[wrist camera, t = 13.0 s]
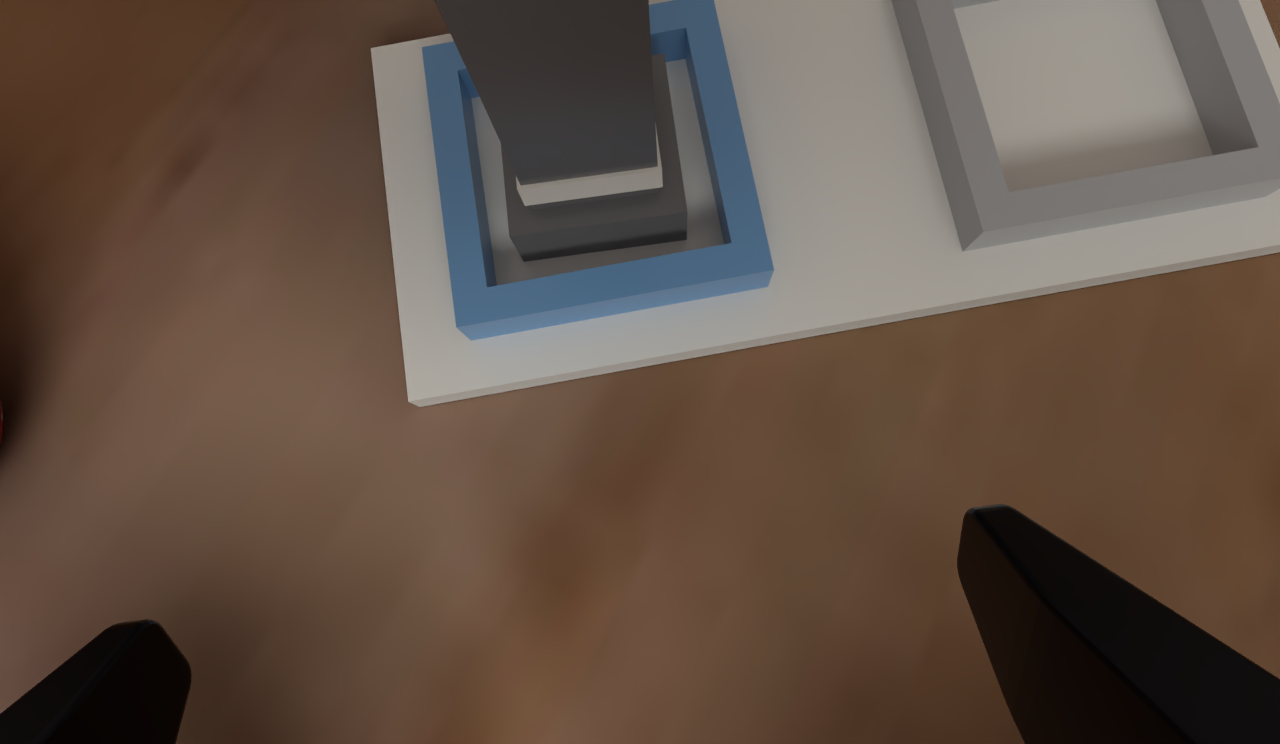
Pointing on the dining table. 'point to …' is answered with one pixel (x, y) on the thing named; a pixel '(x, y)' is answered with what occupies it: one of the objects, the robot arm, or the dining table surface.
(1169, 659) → the robot arm
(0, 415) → the christmas ornament
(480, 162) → the board
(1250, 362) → the dining table surface
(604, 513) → the dining table surface
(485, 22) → the plug
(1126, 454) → the dining table surface
